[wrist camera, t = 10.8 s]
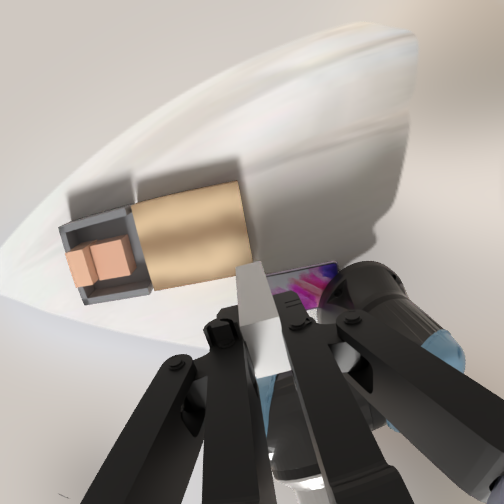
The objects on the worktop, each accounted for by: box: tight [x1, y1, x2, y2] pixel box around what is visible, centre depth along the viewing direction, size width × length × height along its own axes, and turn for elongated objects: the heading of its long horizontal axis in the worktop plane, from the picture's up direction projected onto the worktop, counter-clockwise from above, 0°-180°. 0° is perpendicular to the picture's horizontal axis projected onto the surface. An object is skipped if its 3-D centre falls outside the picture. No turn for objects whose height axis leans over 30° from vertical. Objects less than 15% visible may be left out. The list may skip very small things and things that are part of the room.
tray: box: [58, 204, 153, 305], centre depth 38 cm, size 12×11×4 cm
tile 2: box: [89, 234, 137, 280], centre depth 37 cm, size 5×5×3 cm
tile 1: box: [65, 239, 99, 288], centre depth 36 cm, size 5×5×3 cm
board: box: [131, 180, 253, 291], centre depth 38 cm, size 12×14×3 cm
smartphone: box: [265, 261, 339, 311], centre depth 44 cm, size 7×1×15 cm
